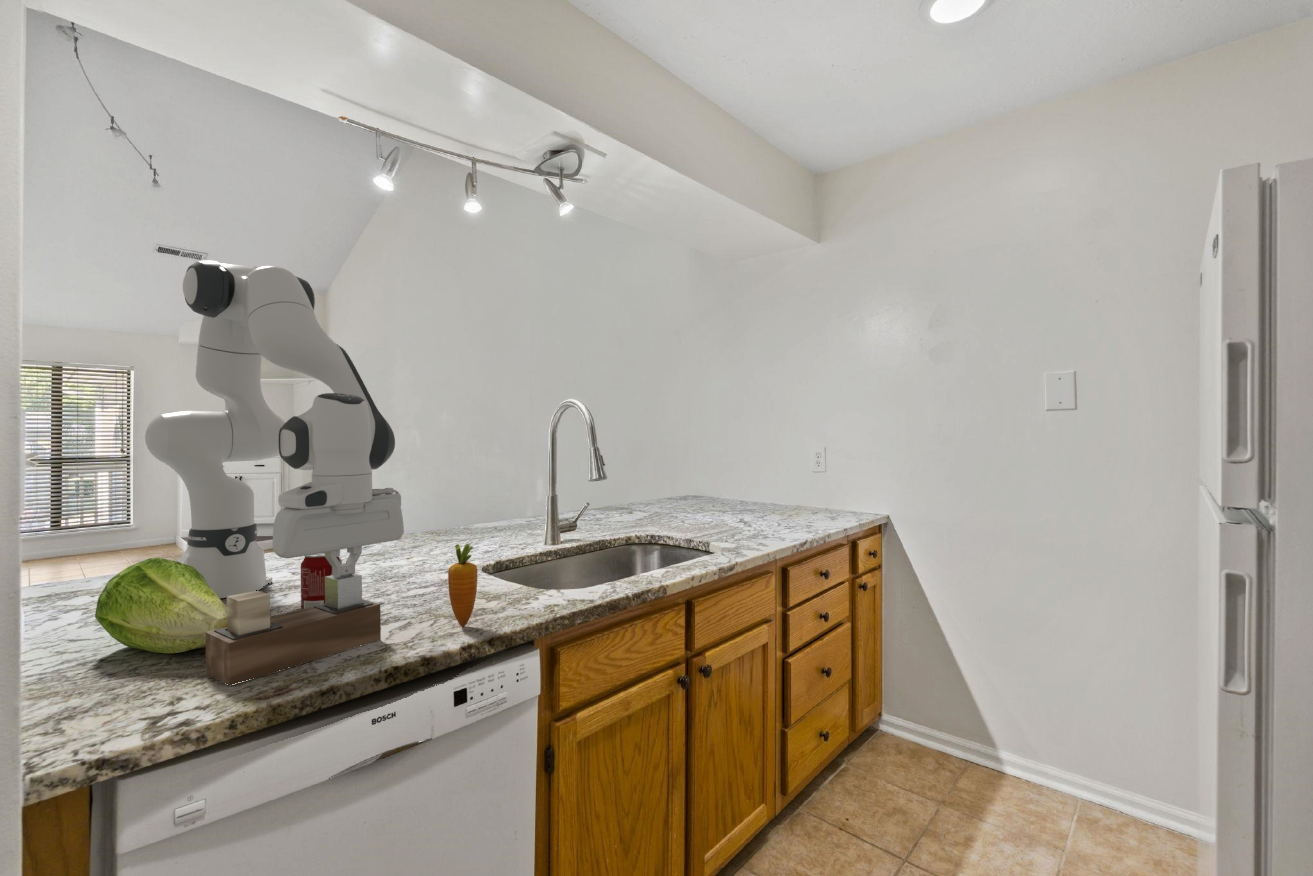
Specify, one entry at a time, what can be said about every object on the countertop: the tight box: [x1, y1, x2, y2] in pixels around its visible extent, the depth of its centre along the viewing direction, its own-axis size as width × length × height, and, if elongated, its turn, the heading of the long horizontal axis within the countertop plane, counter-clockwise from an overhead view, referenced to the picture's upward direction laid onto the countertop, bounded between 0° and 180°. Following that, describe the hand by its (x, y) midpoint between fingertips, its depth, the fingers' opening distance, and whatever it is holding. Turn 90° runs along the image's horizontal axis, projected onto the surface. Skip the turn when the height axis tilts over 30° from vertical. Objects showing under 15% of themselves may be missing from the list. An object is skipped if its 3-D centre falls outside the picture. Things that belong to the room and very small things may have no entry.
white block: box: [325, 573, 363, 611], centre depth 100 cm, size 4×4×6 cm
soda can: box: [300, 552, 343, 609], centre depth 114 cm, size 7×7×12 cm
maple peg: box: [226, 590, 271, 636], centre depth 88 cm, size 4×4×6 cm
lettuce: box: [94, 557, 227, 654], centre depth 96 cm, size 14×24×15 cm
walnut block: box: [205, 598, 382, 686], centre depth 94 cm, size 8×22×6 cm, turn 146°
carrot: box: [447, 543, 478, 628], centre depth 107 cm, size 5×5×15 cm
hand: (343, 575), depth 100 cm, fingers closed
